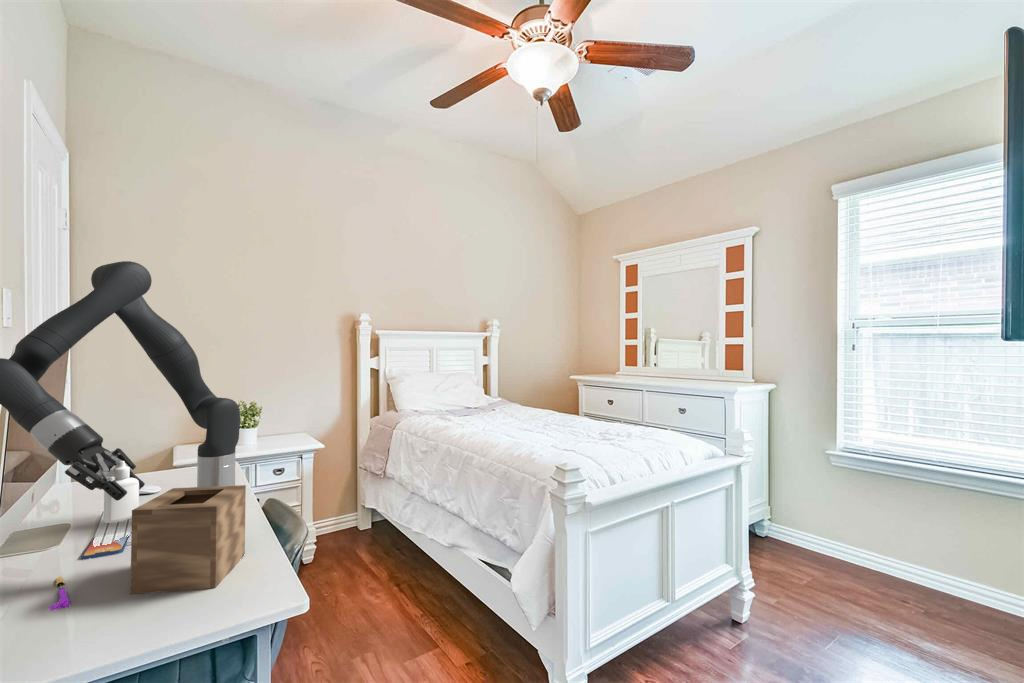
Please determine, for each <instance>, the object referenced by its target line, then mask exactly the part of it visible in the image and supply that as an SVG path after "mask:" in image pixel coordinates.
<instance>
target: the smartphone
mask: <svg viewBox="0 0 1024 683" xmlns="http://www.w3.org/2000/svg"><path fill="white" fill-rule="evenodd" d="M127 536H128V535H127ZM127 536H126V537H122V538H120V539H119V540H120V541H119V540H115V541H114V542H112V543H111V544H107V545H102V543H100V546H96V547H94V546H93V540H94V538H95V537H96V536H94V537H93V538H92V539H91V541H90V543H89V544H88V545H87V547H86V548H85V550H84V551H83V553H82V554H81V560H83V559H84V560H89V558H91V559H97V558H102V557H107V556H112V555H117V554H121V553H124V550H125V549H126V547H127V544H126V542H127V540H128V538H129V536H128V537H127ZM129 539H130V538H129ZM128 541H129V540H128ZM127 543H128V542H127ZM125 546H126V547H125Z"/></svg>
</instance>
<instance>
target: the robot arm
mask: <svg viewBox="0 0 1024 683" xmlns="http://www.w3.org/2000/svg"><path fill="white" fill-rule="evenodd" d="M90 282H91V285H92V288H93V290H91V291H90V292H89V293H88V294H87V295H85V296H84V297H82V298H81V299H79V300H78V301H76V302H75V303H72V304H71V305H69V306H68V307H66V308H64V309H63V310H61V311H59V312H56V314H54V315H52V316H51V317H49V318H47V319H46V320H45V321H43V322H42V323H40V324H39V325H38V326H36V327H35V328H33V329H32V330H31V331H30V332H29V333H28V334H26V335H24V337H23V338H22V339H20V341H18V342H17V344H16V345H15V348H14V352H13V354H12V355H11V356H10V357H9V358H3V357H0V405H1V406H2V407H3V408H5V409H6V412H8V413H9V415H10V417H11V418H12V419H13V420H14V422H16V423H17V424H18V425H19V426H20V427H22V428H23V429H24V431H26V432H28V434H30V435H31V436H32V438H34V440H35V441H36V442H37V443H38V444H39V446H41V447H43V449H45V450H46V451H47V452H48V453H49V454H51V456H53V457H54V458H55V459H56V460H58V461H59V462H60V463H61V464H63V465H64V466H69V467H68V468H67V469H66V470H65V471H64V474H65V475H67V476H69V477H70V478H71V479H73V480H74V481H76V482H77V483H79V484H81V485H82V486H84V487H85V488H87V489H88V490H90V491H94V490H95V489H98V490H100V491H101V490H102V491H105V492H106V493H108V494H109V495H110V496H111V497H112V498H114V499H115V500H117V501H118V500H120V499H122V498H123V497H124V496H125V495H126V494H127V491H126V490H125V489H124V488H122V487H121V486H120V485H119V484H118V483H117V482H115V481H114V480H115V479H113V478H112V476H113V477H115V469H116V468H118V467H119V465H120V461H125V465H126V466H128V467H130V477H129V478H135V479H137V480H138V481H139V491H140V490H141V489H143V488H144V486H145V482H144V481H143V480H142V479H141V478H139V477H138V476H137V475H136V474H135V473H134V470H135V469H136V468H137V466H136V464H135V463H134V461H132V460H131V459H130V458H129V457H128V455H127V454H126V453H125V452H124V451H123V450H122V449H121V448H118V447H117V448H115V449H114V450H113V451H111V450H109V449H107V448H105V447H104V446H103V445H102V444H103V442H104V437H103V436H101V435H100V434H99V433H98V432H96V430H94V429H93V428H92V427H91V426H90V425H89V424H87V422H85V421H84V420H83V419H82V418H81V417H80V416H78V415H76V414H75V413H73V412H72V411H71V410H70V409H68V408H67V407H66V406H65V405H63V404H62V403H61V402H60V401H58V400H57V399H56V398H55V397H54V396H52V395H51V394H49V393H48V392H47V390H45V389H44V388H43V386H42V385H41V384H40V383H39V381H40V379H41V378H42V377H43V376H44V375H45V374H46V373H47V371H48V369H49V368H50V367H51V366H52V365H53V364H54V363H55V362H56V361H57V360H59V359H60V358H61V357H62V356H64V355H65V354H66V353H67V352H68V351H70V350H71V349H72V348H73V347H74V346H75V345H76V344H77V343H79V341H81V340H82V339H83V338H84V337H86V336H87V335H88V334H89V333H90V332H92V330H94V329H95V328H96V327H97V326H99V325H100V324H101V323H103V322H104V321H105V320H107V319H108V318H110V317H111V316H112V315H114V314H115V315H116V316H117V317H118V318H119V319H120V320H121V322H122V323H123V324H124V325H125V326H126V328H127V330H128V331H129V332H130V333H131V334H132V336H133V337H134V339H135V340H136V341H137V343H138V344H139V345H140V347H141V348H142V350H144V353H145V354H146V355H147V356H148V358H149V359H150V361H151V362H152V363H153V364H154V365H155V367H156V368H157V370H158V371H159V372H160V374H162V375H163V377H164V378H165V380H166V381H167V382H168V384H169V385H170V386H171V388H172V389H173V390H174V391H175V392H176V394H177V395H178V396H179V398H180V399H181V401H182V403H183V404H184V406H185V409H186V410H187V411H188V414H189V415H190V417H191V418H192V420H193V422H194V423H195V424H196V425H197V426H198V427H200V428H202V429H205V430H206V433H205V440H204V441H203V443H202V442H201V444H199V445H198V447H197V459H196V460H197V461H196V462H197V463H196V464H197V466H196V468H197V472H196V473H197V475H196V480H197V481H196V487H215V486H236V447H237V445H238V443H239V440H240V428H241V427H240V425H241V412H240V411H241V410H240V407H239V405H238V403H237V402H236V401H234V400H233V399H232V398H227V397H217V396H216V395H215V394H214V393H213V391H212V390H211V389H210V388H209V386H208V385H207V384H206V382H205V381H204V379H203V376H202V374H201V368H200V363H199V359H198V356H197V354H196V352H195V350H194V349H193V348H192V346H191V345H190V343H189V342H188V340H187V338H186V337H185V336H184V335H183V333H182V332H181V331H179V330H178V328H176V327H174V326H173V325H172V324H171V323H170V322H168V321H166V320H165V319H164V318H163V317H161V316H160V315H159V314H157V313H156V312H155V311H154V310H153V309H152V307H150V305H149V304H148V302H147V301H146V300H145V298H144V295H145V294H147V293H148V291H149V290H150V289H151V287H152V283H153V281H152V275H151V273H150V271H149V270H148V269H147V268H146V267H145V266H143V265H142V264H140V263H139V262H135V261H127V260H125V261H124V260H123V261H116V262H111V263H106V264H102V265H100V266H98V267H96V268H95V269H93V272H92V274H91V278H90Z"/></svg>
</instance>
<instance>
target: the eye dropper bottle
mask: <svg viewBox="0 0 1024 683" xmlns="http://www.w3.org/2000/svg"><path fill="white" fill-rule="evenodd" d="M129 477H130V467H128V465H127V464H126V463H125V461H120V465H119V467H118V468H116V469H115V476H114V479H113V480H114V481H115V482H117V483H118V484H119V485H120V486H121V487H122V488H124V489H125V490H126V491H127V494H126V495H125V496H124V497H123V498H122V499H120V500H118V501H117V500H115V499H114V498H112V497H111V496H110V495H109V494H108V493H106V492H105V491H104V490H103V491H104V492H103V495H104V496H103V521H104V523H107V524H115V523H120V522H124V521H128V520H132V510H134V509H135V508H137V507H139V506H140V490H139V481H138V480H137V479H135V478H129Z"/></svg>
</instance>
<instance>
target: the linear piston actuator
mask: <svg viewBox="0 0 1024 683" xmlns="http://www.w3.org/2000/svg"><path fill="white" fill-rule="evenodd" d="M62 584H65V581H64V580H63V577H61V576H59V577H56V579H55V586H56V587H58V585H59V589H58V595H59V600H58V602H57V603H56V602H55V603H54V604H52V605H50V606H49V607H48V608H49V612H51V611H54V610H58V609H62V607H63V609H65V607H66V608H68V607H70V605H71V601H70V598H69V597H68V593H67V589H66V588H65V587H62ZM60 607H61V608H60Z"/></svg>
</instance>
